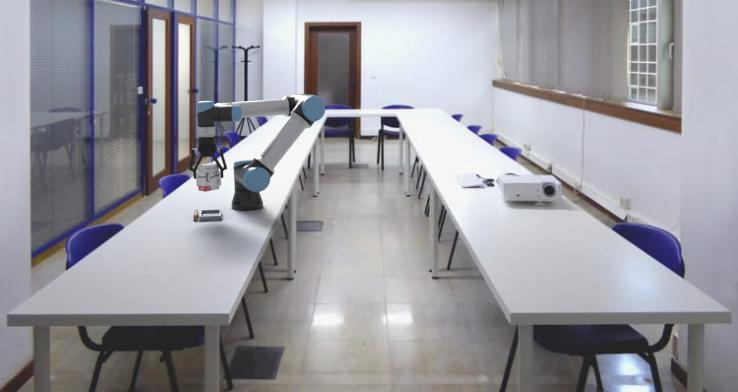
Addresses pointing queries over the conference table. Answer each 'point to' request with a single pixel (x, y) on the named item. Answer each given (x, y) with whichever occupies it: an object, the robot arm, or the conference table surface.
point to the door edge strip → (195, 215)
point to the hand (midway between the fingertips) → (209, 185)
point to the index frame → (210, 215)
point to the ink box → (208, 177)
